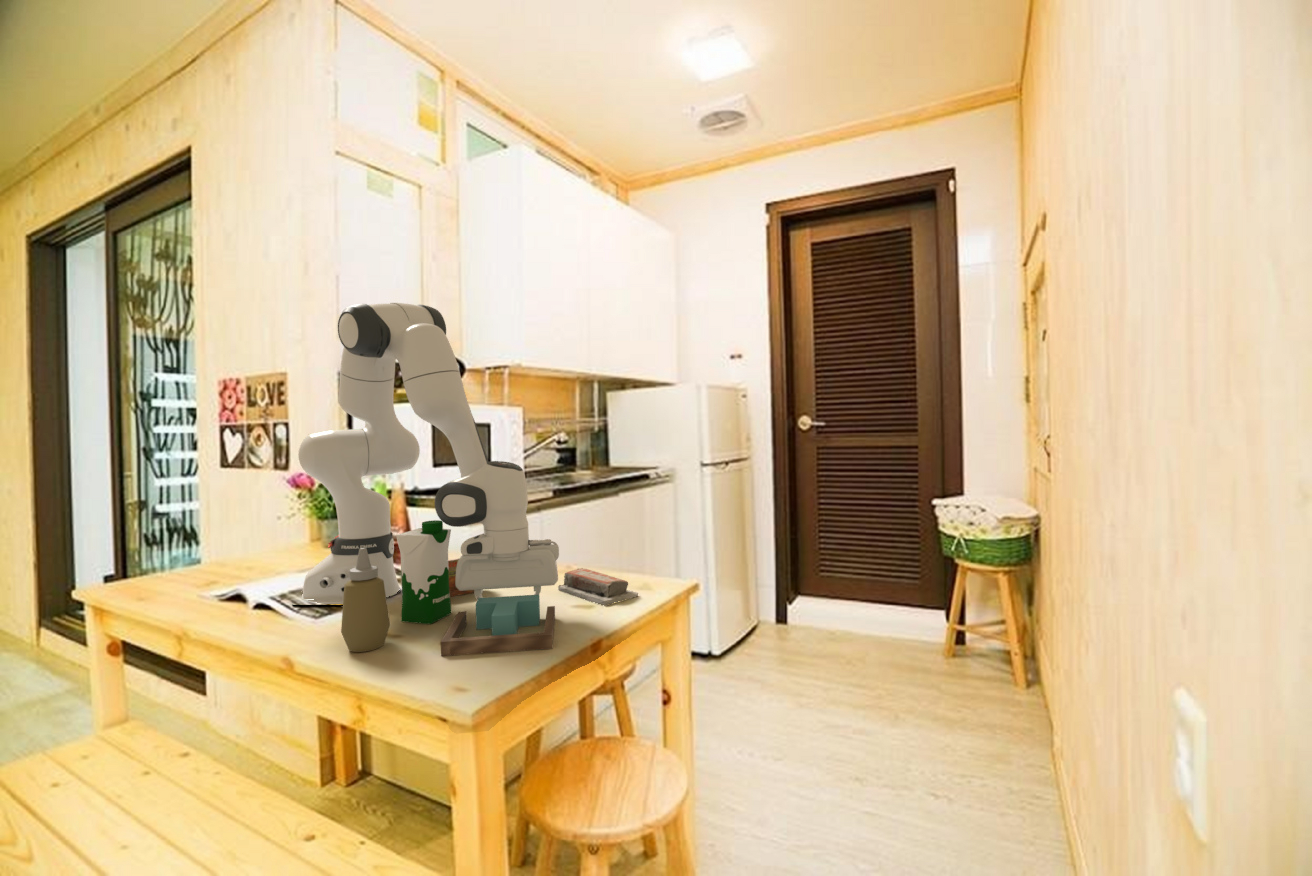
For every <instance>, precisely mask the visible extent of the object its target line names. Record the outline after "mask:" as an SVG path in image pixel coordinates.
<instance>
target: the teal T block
mask: <svg viewBox="0 0 1312 876" xmlns="http://www.w3.org/2000/svg"><path fill="white" fill-rule="evenodd" d="M476 600H477V599H476ZM540 603H541V602H540V594H539V595H534V594H527V595H526V594H523V595H509V596H507V595H506V596H492V597H483V598H478V600H477V601H476V603H475V624H476V625H475V627H476V630H487V629H488V630H489V629H490V630H491V636H494V635H510V634H518V630H519V627H532V626H540V621H541V609H540V608H541V607H540V606H541V605H540Z"/></svg>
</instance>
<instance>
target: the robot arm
mask: <svg viewBox="0 0 1312 876" xmlns="http://www.w3.org/2000/svg"><path fill="white" fill-rule="evenodd" d="M337 334H338V338H339V341H340V343H341V345H342V346H343V350H342V355H341V362H340V370H339V371H340V372H339V385H338V403H339V405H340V407H341V409H342V410H343V412H345V413H347V414H348V415H350V416H351V417H353V418H355V419H356V418H357V419H359V420H361V421H363V422H365V424H364V427H363V428H359V429H330V430H324V431H319V432H318V431H317V432H315V433H310V434H308V435H307V436H306V437H304V439H303V440H302V442H301V443H300V445H299V448H298V461H299V462H298V463H299V464H300V466H301V468H302V470H303V471H304V472H305V473H307V475H308V476H310V477H312V478H313V479H315V480H317V482H318V481H319V483H321V484H322V485H323V486H324V488H325V489H327V491H328V492H329V494H330V495H331V498H332V499H333V502H334V504H335V505H334V506H335V508H336V516H337V527H338V535H337V536H335V537H333V539H332V540H330V542H328V543H327V545H328V546H327V548H328V549H330V554H328V555H327V556H326V557H325V558H323V559H322V560H320V562H319V563H317V564H316V565H315V566H314V567H312V568H311V569H310V570H309V571H308V572H307V573H306V575H305V577H304V582H303V585H302V591H303V594H302V599H314V600H308V601H310V602H317V603H324V604H343V598H344V586H345V584H346V583H347V582H348V581H350V573H349V571H350V569H352V568H356V564H357V559H358V553H359V549H360V548H366V549H367V552H368V556H369V559H370V563H371V566H376V567H378V576H377V577H379V578H381V579H383V580H384V587H385V594H386V597H387V598H389V596H390V597H393V596H394V595H396V594H398V593H399V592H400V591H399V589H400V590H401V587H400V585H399V582H398V578H397V574H396V571H395V564H394V557H393V556H394V554H395V553H394V551H395V546H394V545H395V542H394V540H395V539H394V535H393V531H392V529H391V510H390V509H391V507H390V506H391V505H390V502H389V500H388V499H387V497H386V496H384V494H382V493H380V492H377V491H375V490H373V489H369V488H366V487H365V486H364V484H363V482H362V481H363V480H362V477H366V476H377V475H379V476H381V475H392V474H393V475H394V474H397V473H400V472H404V471H408V470H411V469H413V468H414V467H415V465H416V464H417V462H418V460H419V457H420V454H421V453H420V451H421V449H420V448H421V447H420V445H419V441H418V439H417V437H416V436H415V434H413V433H412V432H411V431H410V430H408V429H407V428H406V427H404V425H403V424H402V423H401V422H400V421H399V419H398V417H397V414H396V412H395V407H394V405H395V403H394V389H395V377H396V376H395V375H396V361H397V362H398V365H399V367H400V368H399V369H400V374H401V378H402V382H403V387H404V390H405V394H406V398H407V399H408V403H409V404H410V406H411V408H412V410H413V412H414V414H415V415H416V416H417V417H419V418H420V419H422V420H423V421H425V422H427V423H429V424H431V425H432V426H434V427H435V428H436V429H438V430H439V431H441V432H442V433H443V435H445V437H446V438H447V439H448V442H449V443H450V445H451V448H452V451H453V455H454V458H455V461H456V463H457V467H458V469H459V472H460V477H459V478H456V479H453V480H450V481H448V482H447V483H445V484H443V485H442V486H440V488H439V489H438V490H437V492H436V494H435V497H434V508H435V513H436V515H437V517H438V518H439V520H440V521H442V522H443V523H444V524H446V525H448V526H450V527H454V528H455V527H458V528H461V527H462V528H463V527H467V526H471V525H473V524H479V523H480V524H482V526H483V533H481V534H478V535H475V536H472V537H468V539H466V540H464V541H463V542H462V544H461V545H460V553H461V555H460V557H459V558H460V559H459V560H458V563H457V567H456V578H455V585H456V587H457V588H458V590H460V591H466V590H474V592H473V593H474V597H475V599H476V600H478V598H484V597H483V591H484V590H496V589H497V590H498V589H499V590H500V589H512V588H530V587H531V588H533V592H534V594H533V595H539V596H540V593H542V592H541V591H542V587H548V586H555V585H556V584H557V582H558V580H559V570H558V563H557V560H558V559H559V557H560V546H559V545H558V544H557V542H556V541H553V540H552V539H550V538H549V539H548V538H547V539H546V538H545V539H530V538H529V537H530V536H529V535H530V534H529V531H530V530H529V521H528V519H527V509H528V505H529V502H528V499H529V498H528V489H527V488H528V487H527V479H526V475H525V472H524V471H525V470H524V469H523V468H522V467H521V466H520V465H518V464H516V463H513V462H510V461H509V462H508V461H502V460H500V461H499V460H491V461H489V459H488V457H487V454H486V451H485V446H484V445H483V441H482V438H481V435H480V432H479V429H478V425H477V424H476V421H475V418H474V416H473V413H472V410H471V408H470V405H469V402H468V398H467V395H466V392H465V391H466V390H465V387H464V384H463V380H462V377H461V372H460V369H459V366H458V362H457V358H456V355H455V354H454V351H453V348H452V346H451V343H450V341H449V339H448V337H447V324H446V321H445V318H444V317H443V315H442V313H441V312H440V310H438V309H437V308H434V307H431V306H429V305H424V304H412V303H404V302H403V303H402V302H390V303H374V304H373V303H372V304H367V303H357V304H353V305H350V306H347V307H345V308H344V309H343V311H342V312H341V314H340V315H339V317H338V321H337ZM398 591H399V592H398ZM397 592H398V593H397Z"/></svg>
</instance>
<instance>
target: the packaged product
mask: <svg viewBox="0 0 1312 876" xmlns="http://www.w3.org/2000/svg"><path fill="white" fill-rule="evenodd" d="M563 577H564V579H563V584H562V585H561V584H559V585H558V590H557V591H560V592H562V593H565V594H567V595H570V596H573V597H575V598H579V599H581V600H584V599H585V600H584V601H587V602H590V601H591V603H593V602H595V603H594V604H596V603H598V604H597V605H599V604H601V605H600V606H603V605H604V607H607V606H609V605H608V604H610V605H613V604H612V603H614V602H617V603H619V602H618V601H621V602H623V601H622V600H624V601H626V600H625V599H627V600H630V599H633V598H632V597H635V598H637V597H639V592H636V591H633V590H629V589H628V586H629V582H628V581H627V580H624V579H622V578H618V577H615V576H611V575H608V574H605V573H602V572H598V571H595V570H593V569H588V568H583V567H581V568H578V569H574V570H569V571H566V572H565V573H564V576H563ZM627 589H628V590H627ZM636 596H637V597H636ZM629 598H630V599H629ZM614 604H615V603H614ZM606 605H607V606H606Z"/></svg>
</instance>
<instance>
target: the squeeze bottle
mask: <svg viewBox="0 0 1312 876" xmlns="http://www.w3.org/2000/svg"><path fill="white" fill-rule="evenodd" d="M349 573H350V581H348V582H347V583H346V584H345V586H344V598H343V606H342V613H341V614H342V617H341V629H340V632H341V636H342V638H343V639H344V642H345V645H346V646H347V649H348V651H351V652H355V653H363V652H370V651H374V650H377V649H379V648H381V647H383V646H384V645H385V642H386V639H387V636H388V632H389V628H390V625H391V624H390V623H391V622H390V616H389V608H388V602H387V601H388V600H387V598H386V594H385V587H384V580H383V579H381V578H379V577H377V576H378V567H376V566H371V563H370V559H369V556H368V552H367V549H366V548H360V549H359V553H358V559H357V564H356V568H352V569H350V571H349Z"/></svg>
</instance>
